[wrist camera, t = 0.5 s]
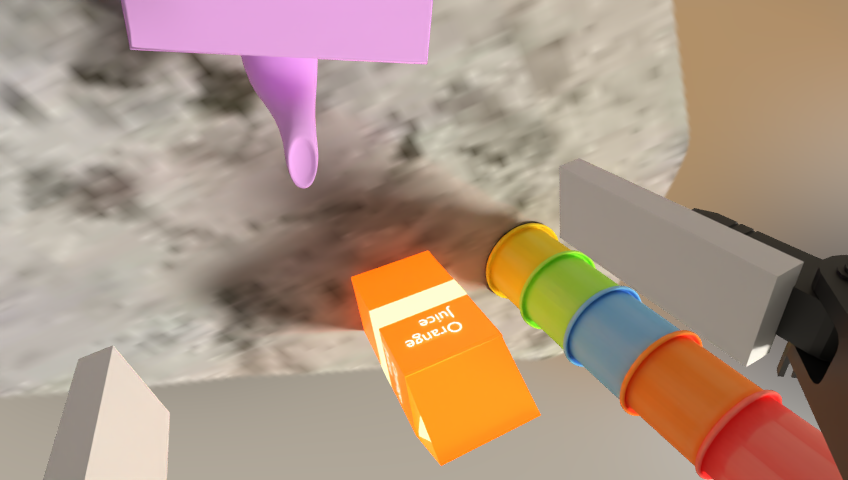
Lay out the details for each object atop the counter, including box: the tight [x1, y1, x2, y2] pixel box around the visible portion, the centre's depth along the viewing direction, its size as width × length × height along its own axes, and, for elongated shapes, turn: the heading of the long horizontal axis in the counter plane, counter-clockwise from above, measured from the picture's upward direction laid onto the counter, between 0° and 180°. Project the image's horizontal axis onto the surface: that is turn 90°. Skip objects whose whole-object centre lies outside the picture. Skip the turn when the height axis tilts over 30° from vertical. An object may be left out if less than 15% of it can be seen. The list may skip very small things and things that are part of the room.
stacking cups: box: [486, 223, 843, 480], centre depth 41 cm, size 10×10×35 cm
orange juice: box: [351, 251, 541, 466], centre depth 41 cm, size 8×9×20 cm
